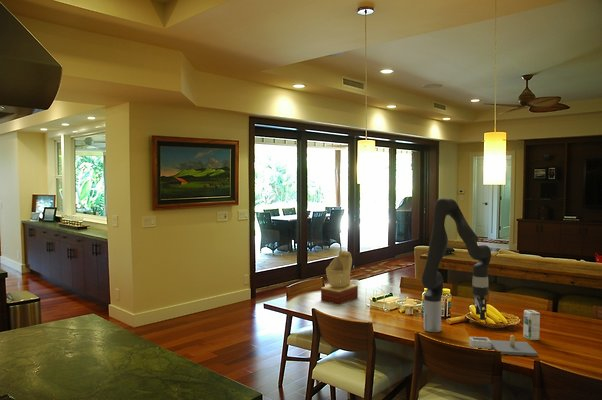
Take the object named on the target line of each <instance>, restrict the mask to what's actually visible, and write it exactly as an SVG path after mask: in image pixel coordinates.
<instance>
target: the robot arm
mask: <svg viewBox="0 0 602 400" xmlns="http://www.w3.org/2000/svg"><path fill="white" fill-rule="evenodd" d="M447 216H449V217H450V218H451V219H452V220H453V221H454V222H455V225H456V231H457V234H458V236H459V238H460V239H461V240H462V241H463V243H464V244H465V247H466V250H467V252H468V255H469V256H470V257H471V259H473V260H474V261H475V260H476V261H477V262H476V263H475V264H473V266H472V280H471V281H472V282H471V283H472V286H471V287H472V288H471V289H472V290H471V292H472V295H474V298H473V299H474V300H473V301H474V302H473V303H474V304H473V305H474V306H475V314H476V315H477V316H479V320H480V321H484V320H486V313H487V311H488V310H487V307H488V306H487V305H488V304H487V299H485V297H486V296H488V295H489V267H490V263H491V259H492V250H491V248H490V247H489V246H488V245H486V244H481V245H478V244H477V243H478V242H479V238H478V236H477V234H476V233H475V231H474V230H473V229H472V228H471V226H470V225H469V223H468V222H467V219H466V217H464V214H463V212H462V209H460V207H459V205H458V203H457V202H456V200H455V199H453V198H443V197H442V198H438V199H437V200H436V201H435V203H434V209H433V222H432V228H431V233H430V234H431V235H430V240H429V245H428V251H427V256H426V261H425V264H424V265H425V267H424V270H423V272H422V276H421V283H422V286H423V287H424V288H425V289H426V292H425V293H424V296H423V330H424V331H425V332H429V333H440V332H441V331H442V297H443V292H444V279H443V278H444V277H443V275H442V274H441V272H439V271H438V270H439V266H440V264H441V263H442V260H443V258H444V256H445V254H446V251H447V246H448V242H449V241H448V240H449V238H448V234H447V231H446V226H445V224H446V218H447Z"/></svg>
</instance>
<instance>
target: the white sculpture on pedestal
mask: <svg viewBox="0 0 602 400" xmlns="http://www.w3.org/2000/svg"><path fill="white" fill-rule="evenodd" d="M352 257H353V256H352V253H351V252H350V251H347V250H343V249H342V248H341V249H340V250H339V251H338V256H336V257H335V258H333V259H332V261H331V262H330V264H329V265H328V266H327V267H326V268H325V274H326V278H327V282H328V284H329V285H326V286H322V287H320V301H322V302H327V303H332V304H335V305H336V304H337V305H340V304H341V305H342V304H344V303H347V302H349V301H350V302H351V301H352V300H355V299H358V297H359V293H358V289H359V287H358V285H359V284H358V285H357V284H351V270H352V265H353V258H352Z"/></svg>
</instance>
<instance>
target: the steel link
mask: <svg viewBox="0 0 602 400" xmlns="http://www.w3.org/2000/svg"><path fill="white" fill-rule="evenodd" d="M468 338H469V339H468V341H469V342H468V345H469V347H470V348H471V347H477V348H487V349H486V350H488V349H491V350H492V346H491V341H490V340H491V339H490V338H489V337H487V336H484V337H483V336H468Z"/></svg>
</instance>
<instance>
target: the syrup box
mask: <svg viewBox="0 0 602 400" xmlns="http://www.w3.org/2000/svg"><path fill="white" fill-rule="evenodd" d="M540 318H541V313H540V312H538V311H536V310H533V309H524V310H523V332H522V333H523V334H522V335H523V337H524V338H525V339H527V340H529V341H536V340H537V341H538V340H539V341H540V325H541V324H540V322H541V319H540Z"/></svg>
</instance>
